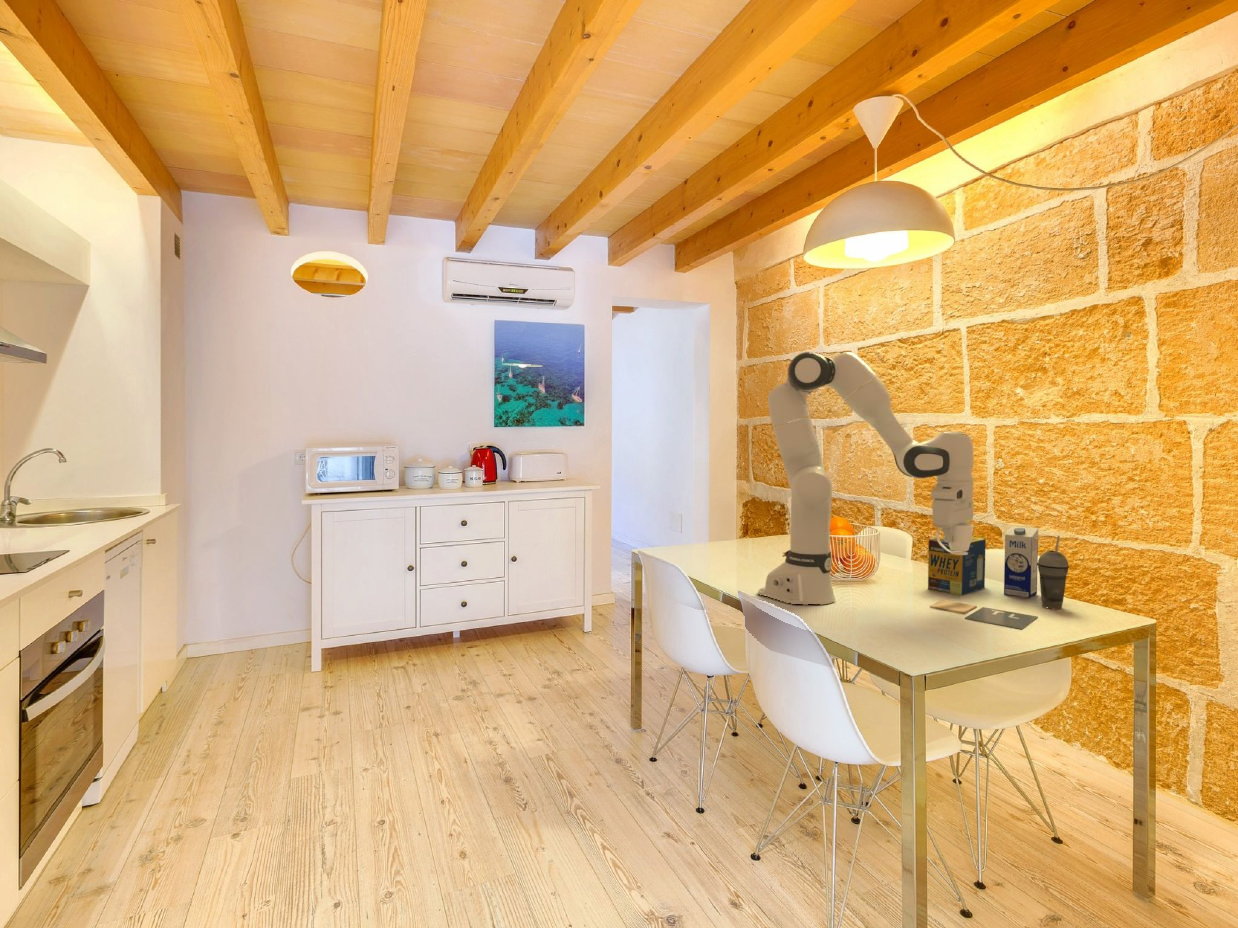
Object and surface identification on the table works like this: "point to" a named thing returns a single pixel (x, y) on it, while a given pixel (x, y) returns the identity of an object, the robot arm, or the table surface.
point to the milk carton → (1021, 562)
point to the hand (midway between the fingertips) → (953, 540)
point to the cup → (959, 539)
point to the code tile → (1001, 618)
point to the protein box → (956, 567)
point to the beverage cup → (1052, 577)
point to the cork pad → (953, 606)
